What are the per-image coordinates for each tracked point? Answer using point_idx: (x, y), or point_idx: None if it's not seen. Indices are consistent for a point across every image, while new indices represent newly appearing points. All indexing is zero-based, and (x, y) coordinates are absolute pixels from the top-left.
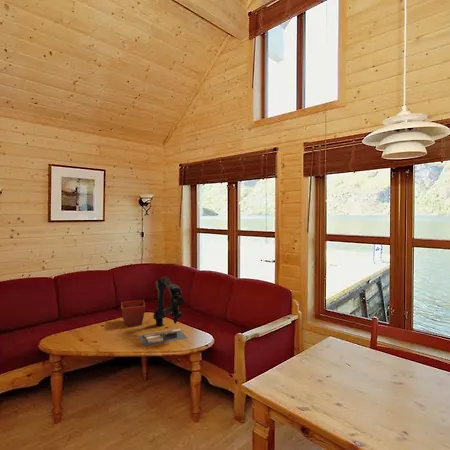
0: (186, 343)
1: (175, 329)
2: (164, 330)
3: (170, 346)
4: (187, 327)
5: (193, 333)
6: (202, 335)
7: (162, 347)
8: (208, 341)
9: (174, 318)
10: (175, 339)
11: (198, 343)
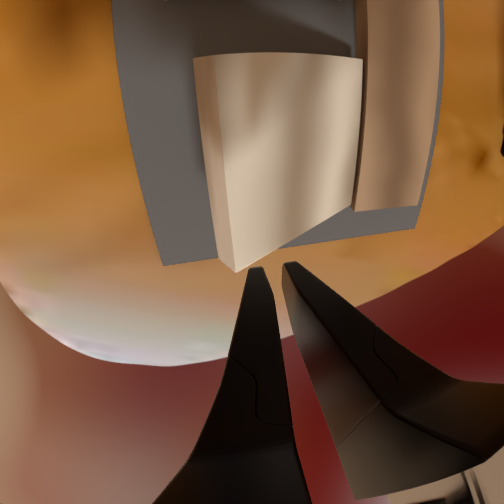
0: (58, 236)
1: (227, 206)
2: (428, 99)
3: (19, 87)
4: (388, 286)
5: None
6: (194, 347)
7: (26, 10)
8: (89, 352)
9: (214, 414)
10: (161, 147)
11: (58, 307)
